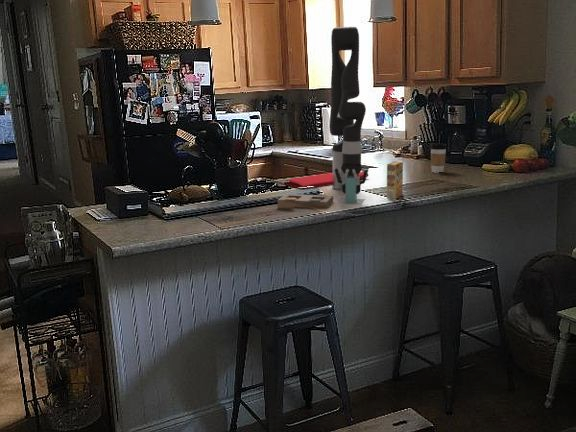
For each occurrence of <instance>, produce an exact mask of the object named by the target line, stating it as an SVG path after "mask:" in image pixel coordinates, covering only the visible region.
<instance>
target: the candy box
mask: <svg viewBox="0 0 576 432" xmlns="http://www.w3.org/2000/svg"><path fill="white" fill-rule="evenodd" d="M403 176H404V162H403V161H399V160H398V161H392V162H390V163H387V165H386V198H387V199H398V198H399V197H401V196H403V185H404V184H403V181H404V180H403V179H404V177H403Z"/></svg>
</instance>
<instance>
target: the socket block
mask: <svg viewBox="0 0 576 432" xmlns="http://www.w3.org/2000/svg"><path fill="white" fill-rule="evenodd" d="M333 202H334V195H322V194H321V195H319V194H318V195H317V194H299V193H297V194H296V193H285V194H284V195H282V196H281V197H280V198H278V199H277V209H287V210H288V209H289V210H293V209H294V208H310V209H311V208H313V209H328V207H330V206H331V204H333Z"/></svg>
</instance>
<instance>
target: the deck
mask: <svg viewBox="0 0 576 432" xmlns="http://www.w3.org/2000/svg"><path fill="white" fill-rule="evenodd" d="M345 199H346V197H344V198H343V197H342V198H340V199H339V201H337V202H336V204H340V205H341V204H346V205H362V204H363V203H364V202H365V200H366V199H365V198H364V199H363V198H357V201H356V202H345Z"/></svg>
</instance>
